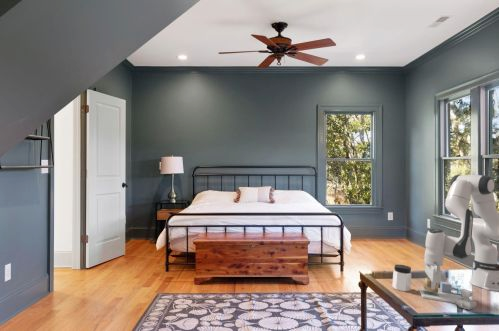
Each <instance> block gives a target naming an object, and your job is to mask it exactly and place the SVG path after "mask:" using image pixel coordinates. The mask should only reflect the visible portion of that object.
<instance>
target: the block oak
mask: <svg viewBox="0 0 499 331" xmlns="http://www.w3.org/2000/svg"><path fill="white" fill-rule="evenodd" d="M439 287H440V286H439V284H438V283H436V286H435V289H431V280H430V278H428V277H425V278H424V286H423V289H424V290H426V291H428V292H434V293H438V292H439Z"/></svg>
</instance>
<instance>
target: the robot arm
mask: <svg viewBox="0 0 499 331" xmlns="http://www.w3.org/2000/svg"><path fill="white" fill-rule="evenodd" d="M449 185H450V188H449V190H448V192H447V194H446V198H445V201H444V206H445V209H446V210H447V211H448V212H449V213H450V214H452V216H455V217H457V218H458V219H459V220H460V221H461V226H460V236H459V237H456V236H451V235H447V234H446V233H445V231H444V230H443V229H440V228H430V229H428V230H427V232H426V237H425V242H424V243H425V244H424V246H425V251H424V255H423V262H424V271H425V272H424V273H425V274H426V276H427V278H430V280H431V289H435V286H436V283H438V284H439V283H440V275H441V272H442V271H441V267H443V265H444V257H445V256H444V254H445V255H449V256H452V257H455V258H458V259H461V260H464V259H466V258H468V257H469V256H471V254H472V250H473V249H472V248H473V246H472V242H473V244H474V259H473V262H472V269H473V270H472V273H471V278H470V280H469V284H471V285H472V286H475V287H477V288H482V289H484V290H487V291H490V292H491V291H493V292H499V264H498V253H499V251H498V249H497V248H496V247H495V246H494V245H493V244H492V243H491V242H490V240H494V241H499V211H498V208H497V205H496V200H495V194H494V190H495V180H494V179H493V177H491V176H489V175H481V174H455V175H453V177H451V179H450V183H449ZM470 202H472V207H473V211H472V210H471V209H470ZM473 212H474V213H475V215H477V216H478V217H474V214H473Z"/></svg>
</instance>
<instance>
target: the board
mask: <svg viewBox="0 0 499 331" xmlns="http://www.w3.org/2000/svg"><path fill="white" fill-rule="evenodd" d="M418 292H419V294H420V296H421V297H422V299H426V300H432V301H439V302H445V303H452V304H456V300H457V299H460V298H463V297H462V296H463V295H461V294H456V293H455V294H453V293H451V294H449V293H443V292H441V291H438V293H434V292H428V291H426V290H425V288H418Z"/></svg>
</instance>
